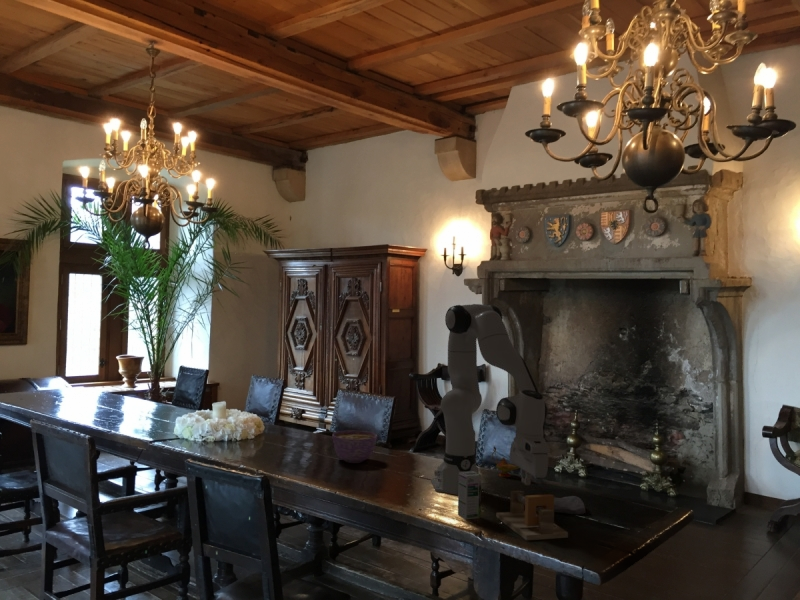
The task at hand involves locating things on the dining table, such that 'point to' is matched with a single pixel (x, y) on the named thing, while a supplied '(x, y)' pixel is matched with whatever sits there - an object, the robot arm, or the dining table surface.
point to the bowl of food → (354, 445)
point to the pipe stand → (543, 531)
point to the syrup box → (469, 495)
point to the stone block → (569, 505)
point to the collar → (531, 504)
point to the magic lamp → (504, 466)
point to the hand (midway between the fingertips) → (525, 483)
